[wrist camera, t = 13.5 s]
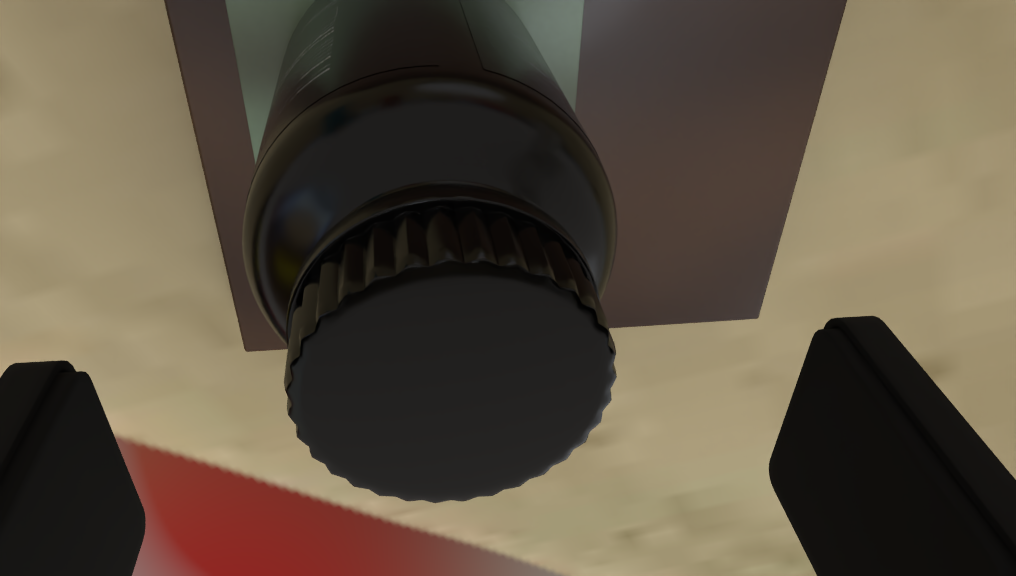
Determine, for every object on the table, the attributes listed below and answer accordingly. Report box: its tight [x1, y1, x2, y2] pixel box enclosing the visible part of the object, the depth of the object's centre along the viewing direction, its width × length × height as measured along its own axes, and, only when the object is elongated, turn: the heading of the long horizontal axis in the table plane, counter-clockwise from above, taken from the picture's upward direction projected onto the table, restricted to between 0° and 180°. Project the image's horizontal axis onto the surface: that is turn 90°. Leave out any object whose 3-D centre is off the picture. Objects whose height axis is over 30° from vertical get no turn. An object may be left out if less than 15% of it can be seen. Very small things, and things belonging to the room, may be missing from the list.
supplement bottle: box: [242, 0, 618, 503], centre depth 15 cm, size 7×7×12 cm
